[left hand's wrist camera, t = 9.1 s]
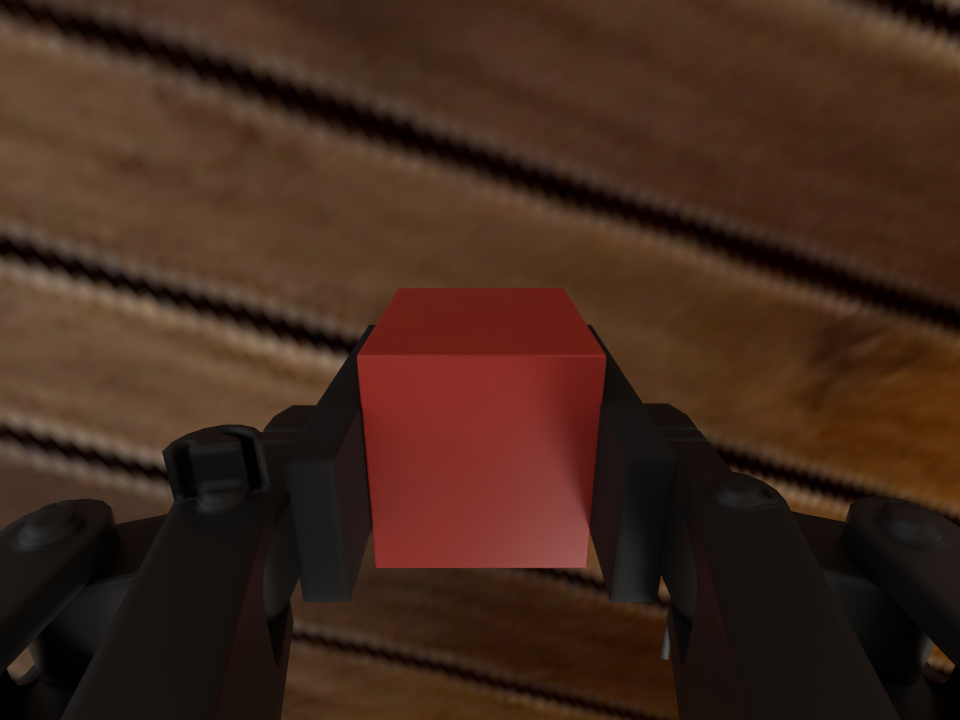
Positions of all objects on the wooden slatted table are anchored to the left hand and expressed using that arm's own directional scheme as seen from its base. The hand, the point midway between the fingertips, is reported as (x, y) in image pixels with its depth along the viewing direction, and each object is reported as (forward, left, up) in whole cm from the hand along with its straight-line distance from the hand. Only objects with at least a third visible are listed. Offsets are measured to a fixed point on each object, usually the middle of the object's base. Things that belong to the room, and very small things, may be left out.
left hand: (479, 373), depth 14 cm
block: (0, 0, 0) cm, 0 cm away
